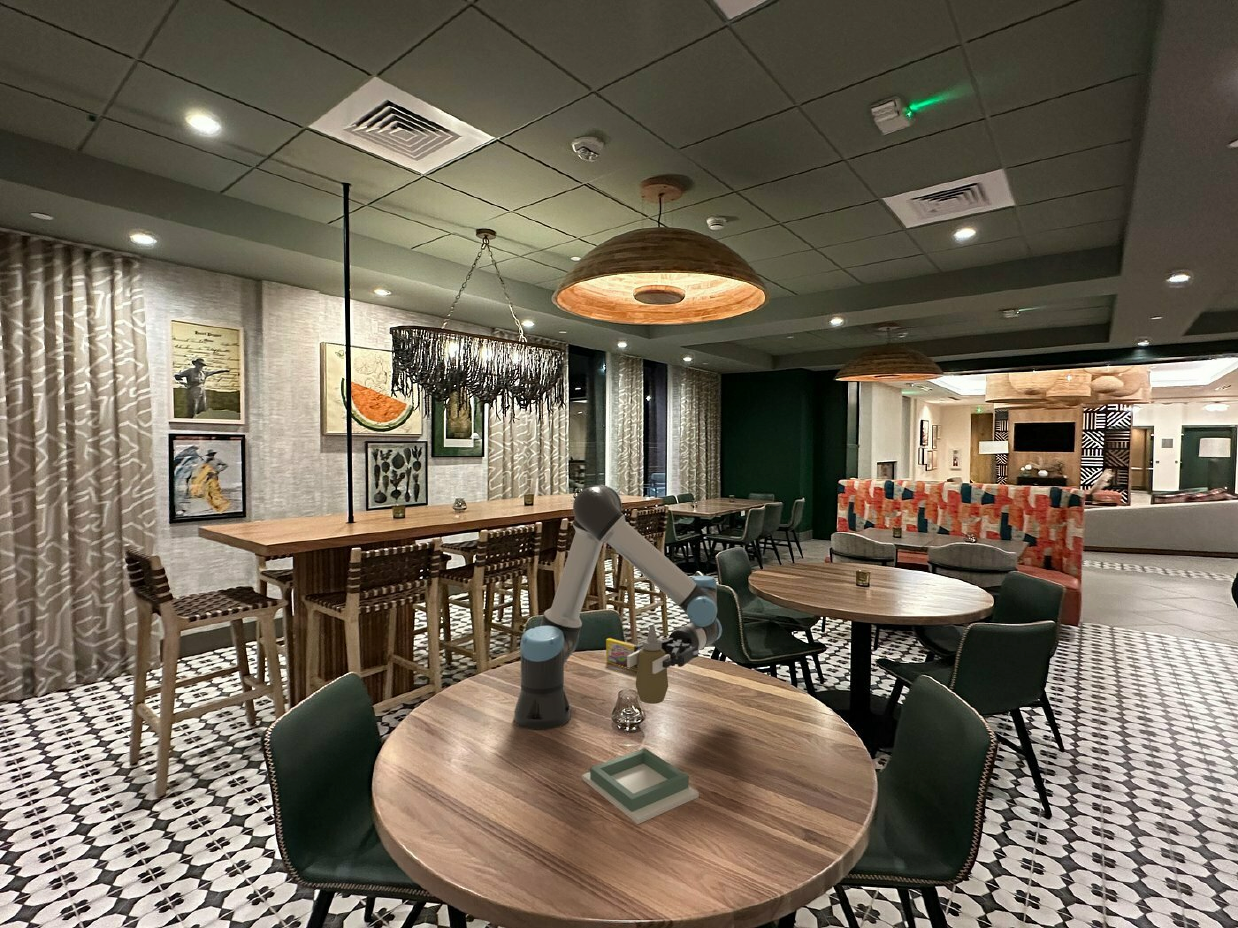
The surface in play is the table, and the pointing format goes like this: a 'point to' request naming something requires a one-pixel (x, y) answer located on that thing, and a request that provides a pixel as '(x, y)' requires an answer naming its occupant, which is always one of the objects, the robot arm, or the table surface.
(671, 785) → the collar stand
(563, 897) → the table surface
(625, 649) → the candy box
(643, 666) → the squeeze bottle
